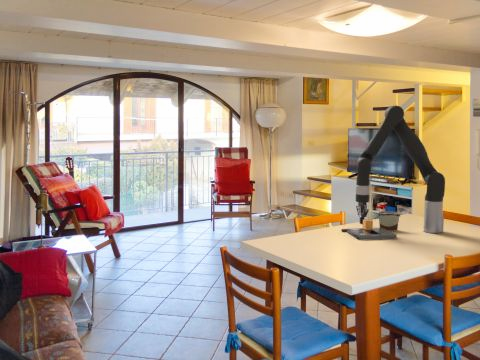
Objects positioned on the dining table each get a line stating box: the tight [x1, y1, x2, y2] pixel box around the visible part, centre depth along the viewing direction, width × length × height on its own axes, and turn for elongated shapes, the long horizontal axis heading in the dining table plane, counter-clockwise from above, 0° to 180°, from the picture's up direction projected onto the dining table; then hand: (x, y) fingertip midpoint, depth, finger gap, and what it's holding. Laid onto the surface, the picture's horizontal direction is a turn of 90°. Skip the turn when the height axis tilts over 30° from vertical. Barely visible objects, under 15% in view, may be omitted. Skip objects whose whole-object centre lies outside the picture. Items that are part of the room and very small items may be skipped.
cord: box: [346, 230, 359, 240], centre depth 250 cm, size 17×1×1 cm, turn 7°
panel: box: [346, 227, 398, 241], centre depth 252 cm, size 20×18×2 cm
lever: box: [362, 218, 374, 233], centre depth 256 cm, size 4×4×7 cm
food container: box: [377, 210, 401, 232], centre depth 266 cm, size 12×6×10 cm, turn 84°
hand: (361, 223), depth 265 cm, fingers closed
